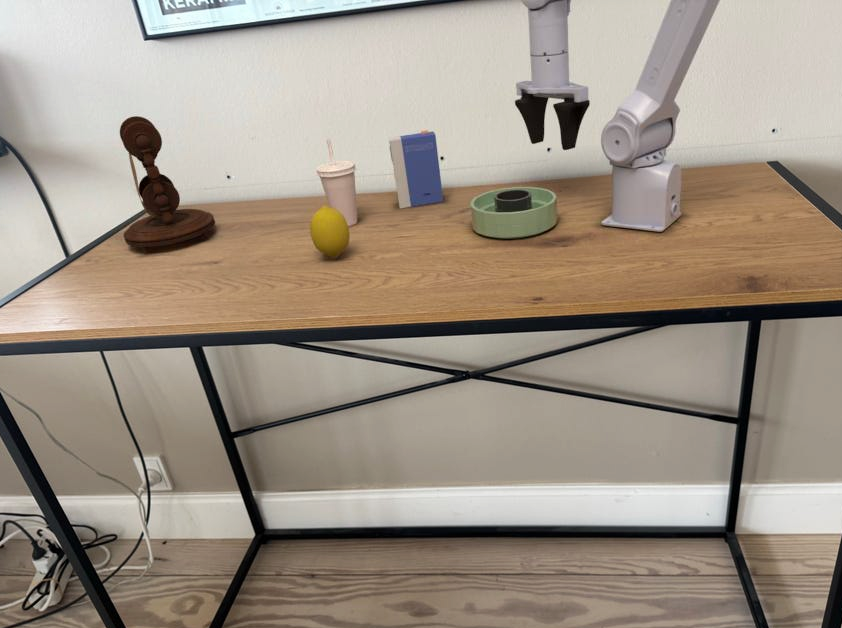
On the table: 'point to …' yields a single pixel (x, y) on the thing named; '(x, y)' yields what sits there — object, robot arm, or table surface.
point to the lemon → (329, 231)
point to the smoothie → (340, 186)
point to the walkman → (416, 169)
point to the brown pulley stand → (158, 194)
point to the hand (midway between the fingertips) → (552, 145)
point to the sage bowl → (514, 215)
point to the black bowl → (513, 201)
